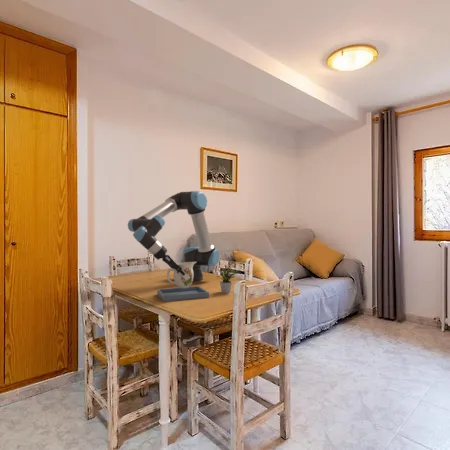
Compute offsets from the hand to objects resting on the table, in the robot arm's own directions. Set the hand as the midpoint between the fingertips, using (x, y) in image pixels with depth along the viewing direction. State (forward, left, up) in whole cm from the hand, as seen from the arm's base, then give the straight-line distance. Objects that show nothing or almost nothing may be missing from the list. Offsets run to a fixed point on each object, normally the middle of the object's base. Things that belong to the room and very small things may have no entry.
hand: (185, 276), depth 183 cm
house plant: (-23, +1, -11) cm, 26 cm away
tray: (+2, 0, -11) cm, 11 cm away
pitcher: (+2, 0, -6) cm, 6 cm away
